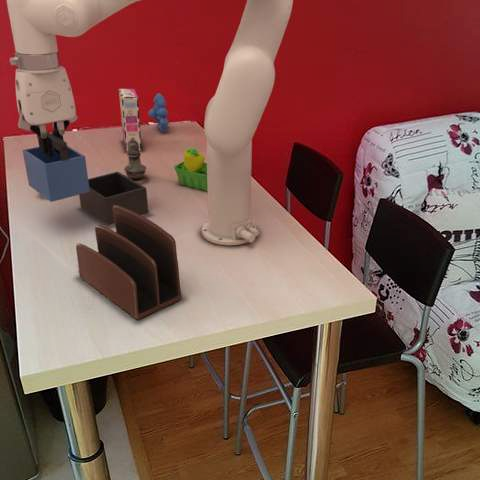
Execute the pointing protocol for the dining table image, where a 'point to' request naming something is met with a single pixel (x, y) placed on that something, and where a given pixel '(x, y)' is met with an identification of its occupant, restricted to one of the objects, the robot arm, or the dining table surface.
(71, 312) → the dining table surface
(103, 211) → the black tote
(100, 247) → the letter holder
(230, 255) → the dining table surface
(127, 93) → the candy bar box
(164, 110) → the grapes
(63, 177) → the blue tote
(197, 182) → the fruit basket
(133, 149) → the grey chess piece
